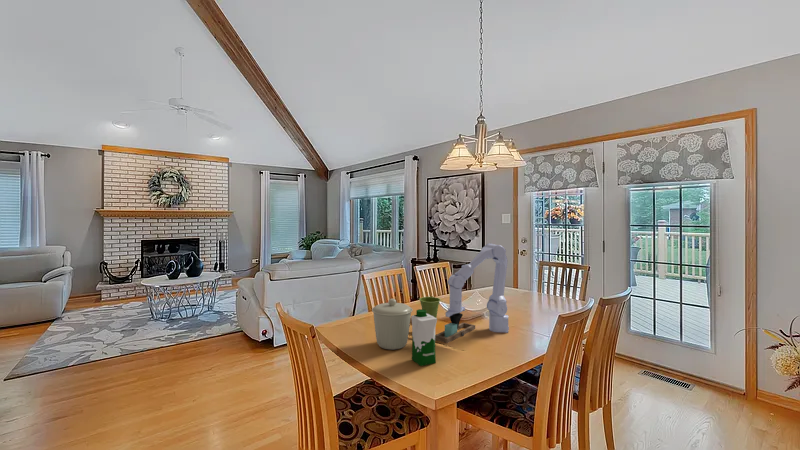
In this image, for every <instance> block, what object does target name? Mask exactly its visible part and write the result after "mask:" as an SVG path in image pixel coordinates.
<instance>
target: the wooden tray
mask: <svg viewBox="0 0 800 450" xmlns="http://www.w3.org/2000/svg"><path fill="white" fill-rule="evenodd" d="M474 330H476V324H473V323H472V324H471V323H467V322H460V323H459V326H458V329H457V333H455V334H453V335H451V336H449V337H445V330H443V331H441V332H438V333H435V344H436V343H437V344H441V345H444V346H446V344H448V343H451V342H453V341H454V340H455V341H456V339H459V338H460V337H464V335H467V334H468V333H471V332H472V331H474Z"/></svg>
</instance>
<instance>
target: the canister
mask: <svg viewBox="0 0 800 450" xmlns="http://www.w3.org/2000/svg"><path fill="white" fill-rule="evenodd" d="M413 310H414V309H413V308H412V307H411V306H410V305H408V304H406V303H402V302H397V300H396V299H395V298H390V299H388V302H384V303H383V302H382V303H379V304H376V305H375V306H373V307H372V308H371V311H372V314H373V321H374V322H373V323H374V332H375V338H376V343H377V345H378V346H379V347H380V348H382V349H385V350H389V351H390V350H391V351H392V350H399V349H403V348H405V346H406V345H407V343H408V340H409V333H410V325H411V316H412V315H411V314H412V312H413Z"/></svg>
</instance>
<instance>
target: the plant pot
mask: <svg viewBox="0 0 800 450" xmlns="http://www.w3.org/2000/svg"><path fill="white" fill-rule="evenodd" d="M418 300H419V302H420V307H421V309H423V310H426V314H429V315H431V316H434V317H435V318H437V316H438V312H439V305H440V302H441V300H442V299H441V298H439V297H436V296H422V297H419V298H418Z"/></svg>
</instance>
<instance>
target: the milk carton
mask: <svg viewBox="0 0 800 450" xmlns="http://www.w3.org/2000/svg"><path fill="white" fill-rule="evenodd" d="M415 313H416V314H414V315H411V318H410V320H411V326H412V327H411V328H412V330H411V332H412V334H411V336H412V337H411V344H412V345H411V360H412V361H413V362H414V363H416V364H417V365H418V366H420V367H423V366H428V365H432V364H437V363H436V362H437V360H436V359H437V358H436V356H437V355H436V340H435V335H436V327H437V321H438V318H437V317H436V318H435V317H434V316H431V315H429V314H426V310H423V309H422V308H420V309H416V311H415Z"/></svg>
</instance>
